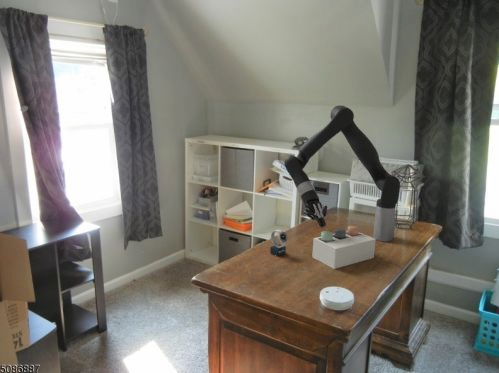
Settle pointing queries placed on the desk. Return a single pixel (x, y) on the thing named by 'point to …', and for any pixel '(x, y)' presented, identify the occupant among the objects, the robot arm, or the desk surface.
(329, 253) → the button console
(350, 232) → the terracotta button
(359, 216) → the desk surface
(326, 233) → the sage button
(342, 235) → the charcoal button
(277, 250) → the watch
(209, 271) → the desk surface
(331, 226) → the desk surface
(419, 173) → the geometric lantern
